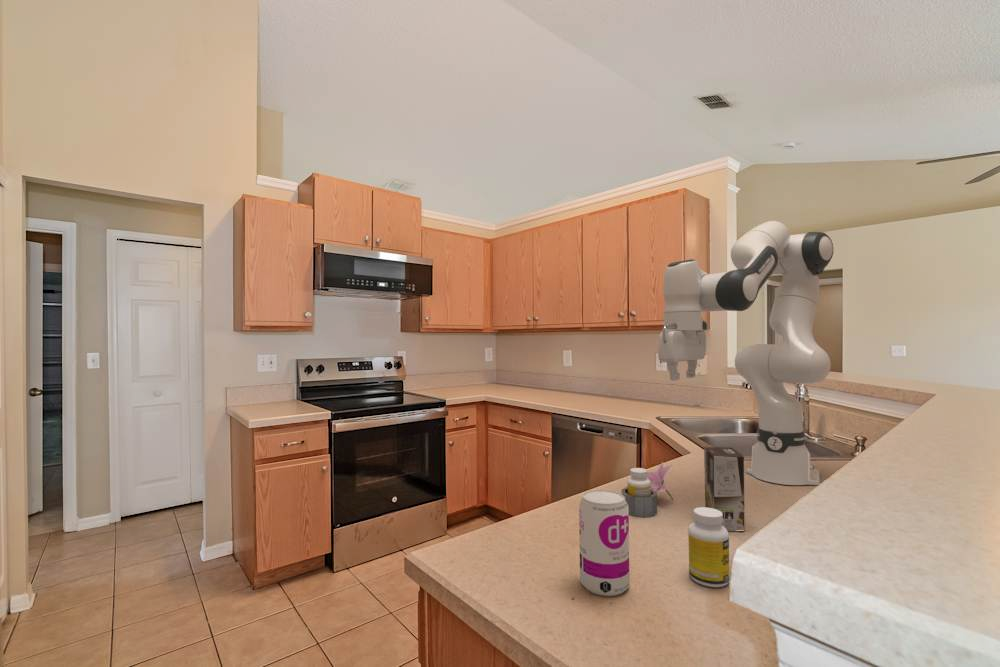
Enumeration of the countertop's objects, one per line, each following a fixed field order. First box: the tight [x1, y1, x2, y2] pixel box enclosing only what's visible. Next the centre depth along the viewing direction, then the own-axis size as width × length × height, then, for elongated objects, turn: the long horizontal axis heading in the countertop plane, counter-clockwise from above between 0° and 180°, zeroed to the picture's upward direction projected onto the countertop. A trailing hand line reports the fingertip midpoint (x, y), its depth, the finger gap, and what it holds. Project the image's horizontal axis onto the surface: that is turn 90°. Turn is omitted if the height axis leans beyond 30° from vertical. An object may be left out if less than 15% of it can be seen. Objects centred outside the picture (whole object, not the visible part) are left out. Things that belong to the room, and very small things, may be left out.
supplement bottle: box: [627, 467, 651, 497], centre depth 115 cm, size 5×5×10 cm
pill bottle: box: [687, 506, 730, 588], centre depth 82 cm, size 6×6×12 cm
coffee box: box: [703, 446, 745, 532], centre depth 106 cm, size 9×6×16 cm
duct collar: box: [621, 486, 658, 518], centre depth 114 cm, size 8×8×4 cm
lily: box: [647, 461, 674, 501], centre depth 121 cm, size 12×12×10 cm
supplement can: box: [578, 489, 631, 597], centre depth 81 cm, size 8×8×15 cm
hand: (683, 378), depth 120 cm, fingers open, 8 cm apart
